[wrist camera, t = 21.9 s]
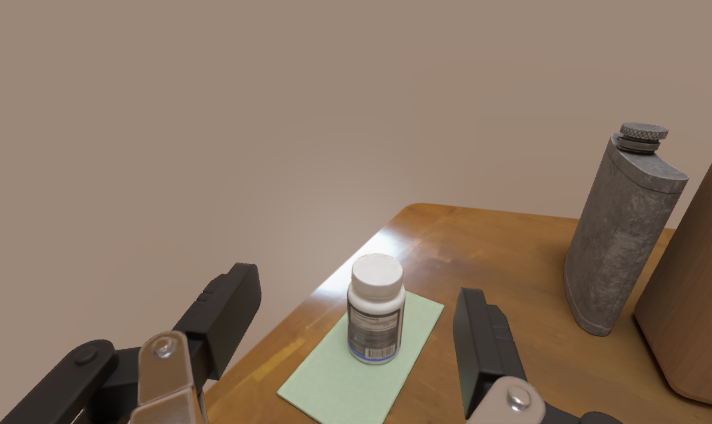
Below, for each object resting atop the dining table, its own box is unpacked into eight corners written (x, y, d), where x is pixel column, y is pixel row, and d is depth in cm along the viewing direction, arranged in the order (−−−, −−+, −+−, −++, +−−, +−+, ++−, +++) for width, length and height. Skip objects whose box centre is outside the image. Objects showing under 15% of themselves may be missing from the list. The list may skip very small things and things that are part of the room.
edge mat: (366, 454, 22) (366, 452, 22) (276, 394, 26) (276, 392, 26) (444, 307, 34) (444, 305, 34) (375, 280, 38) (375, 278, 38)
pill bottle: (362, 316, 33) (365, 244, 29) (408, 335, 31) (417, 260, 27) (337, 351, 29) (335, 274, 25) (386, 376, 27) (393, 296, 23)
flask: (567, 327, 32) (645, 144, 24) (557, 250, 44) (608, 109, 35) (613, 340, 31) (712, 151, 22) (590, 258, 42) (650, 112, 34)
